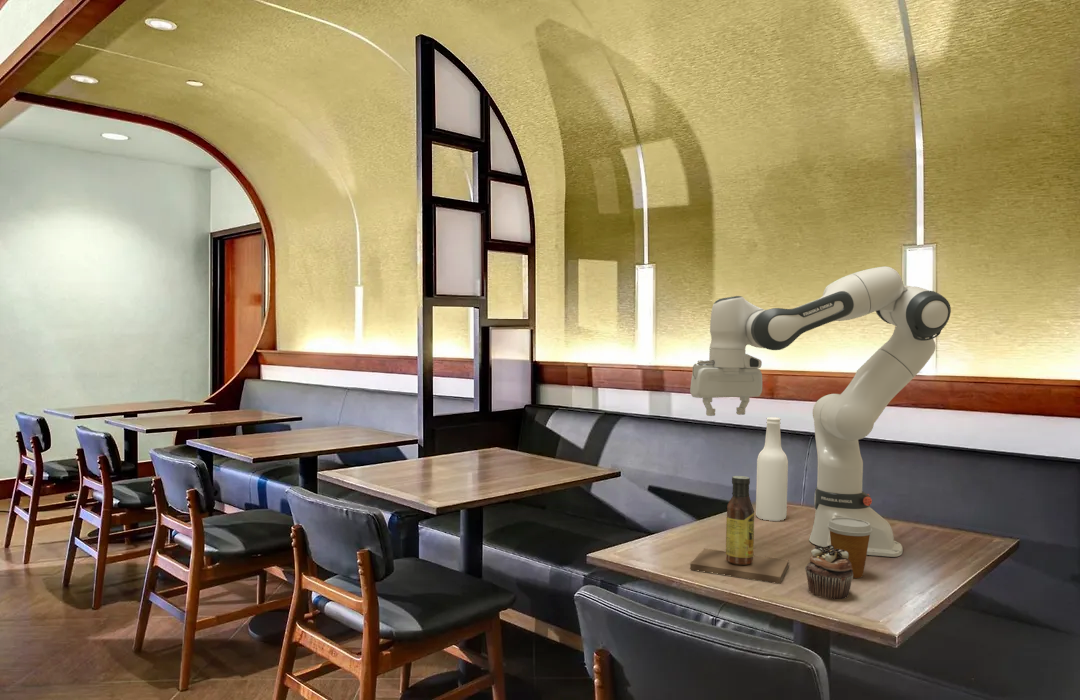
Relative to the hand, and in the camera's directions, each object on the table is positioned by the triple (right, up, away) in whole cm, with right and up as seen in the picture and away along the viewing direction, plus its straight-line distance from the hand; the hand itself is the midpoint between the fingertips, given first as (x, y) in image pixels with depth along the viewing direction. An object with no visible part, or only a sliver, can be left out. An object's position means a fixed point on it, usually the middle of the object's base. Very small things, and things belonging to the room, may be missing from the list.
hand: (725, 415), depth 192 cm
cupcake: (+14, -35, -31) cm, 49 cm away
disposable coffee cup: (+24, -35, -17) cm, 46 cm away
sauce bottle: (-1, -33, -15) cm, 36 cm away
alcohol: (+22, -34, +34) cm, 53 cm away
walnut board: (0, -35, -15) cm, 38 cm away
